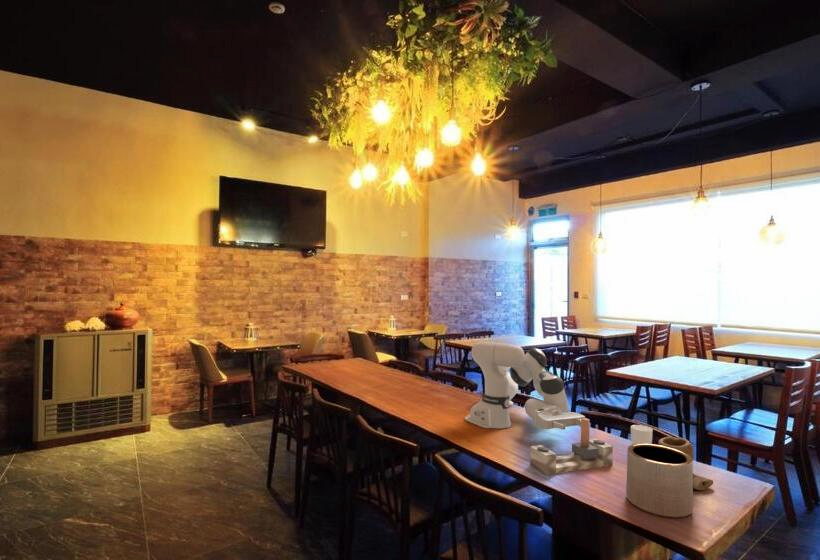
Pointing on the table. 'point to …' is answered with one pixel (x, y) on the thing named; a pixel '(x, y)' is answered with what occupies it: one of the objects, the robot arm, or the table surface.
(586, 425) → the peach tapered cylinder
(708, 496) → the table surface
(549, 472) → the rail track
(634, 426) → the white cup
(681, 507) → the planter
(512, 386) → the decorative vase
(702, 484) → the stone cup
